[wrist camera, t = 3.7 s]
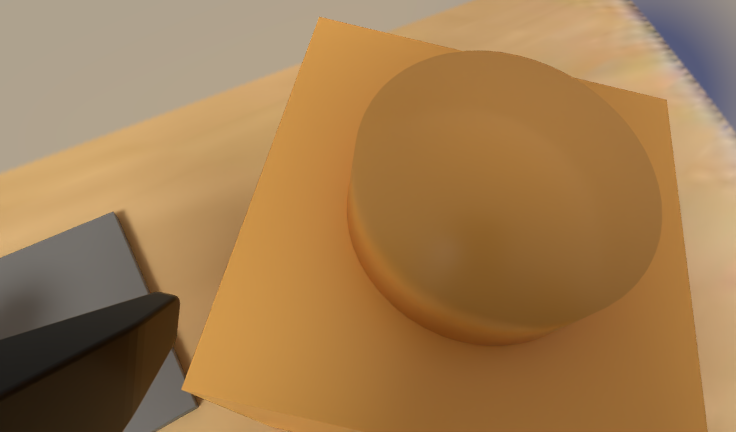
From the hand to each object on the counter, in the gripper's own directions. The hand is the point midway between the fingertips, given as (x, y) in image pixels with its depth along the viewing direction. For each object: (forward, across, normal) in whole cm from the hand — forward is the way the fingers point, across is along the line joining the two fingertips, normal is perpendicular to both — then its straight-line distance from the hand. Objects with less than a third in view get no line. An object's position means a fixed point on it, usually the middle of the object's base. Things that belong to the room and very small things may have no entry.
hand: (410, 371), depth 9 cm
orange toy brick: (+8, 0, +5) cm, 9 cm away
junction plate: (+5, +13, +8) cm, 16 cm away
